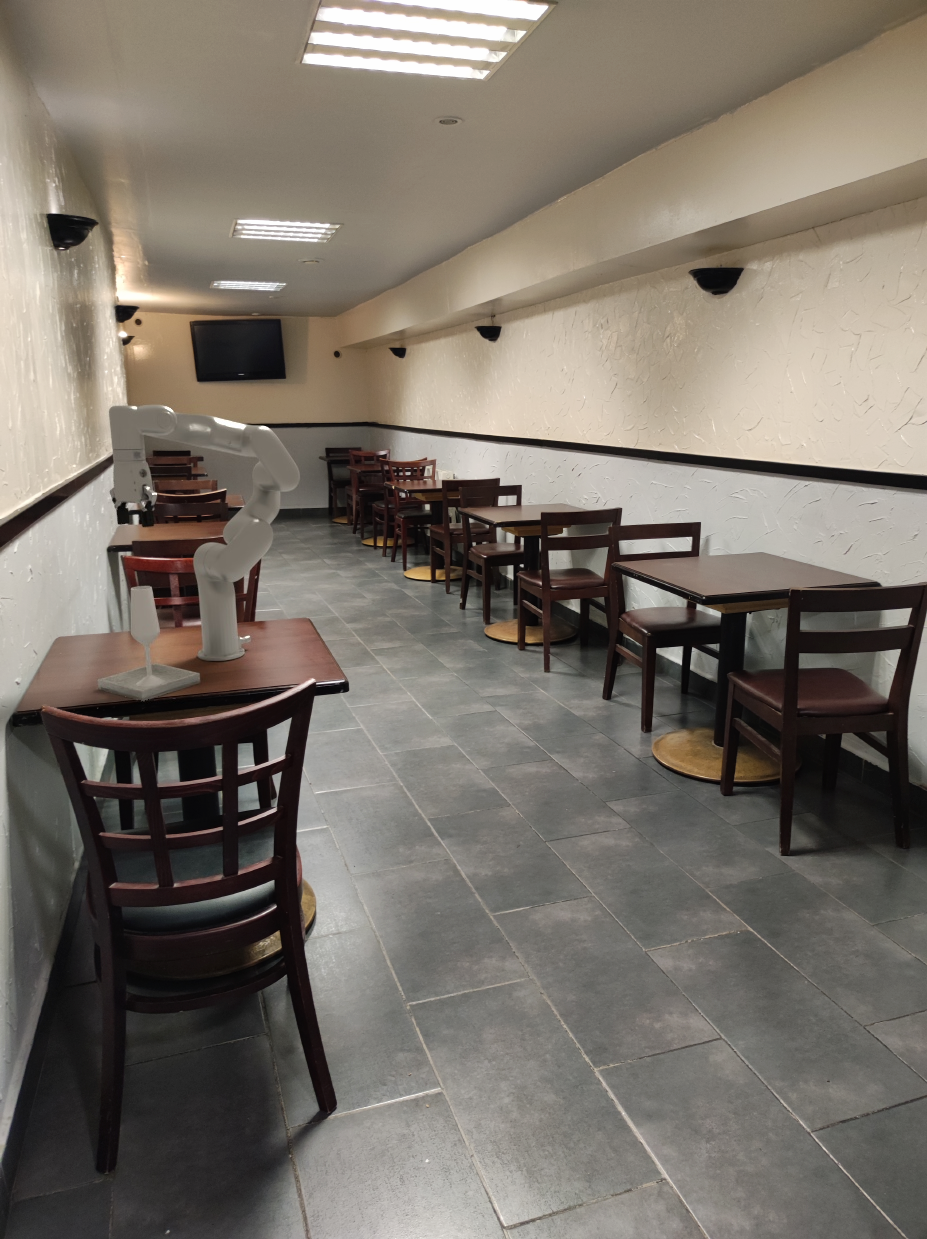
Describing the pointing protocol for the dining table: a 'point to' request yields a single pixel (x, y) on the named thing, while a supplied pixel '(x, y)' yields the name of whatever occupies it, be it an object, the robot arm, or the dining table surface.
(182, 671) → the serving tray
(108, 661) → the dining table surface
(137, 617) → the champagne flute
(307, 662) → the dining table surface
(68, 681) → the dining table surface
